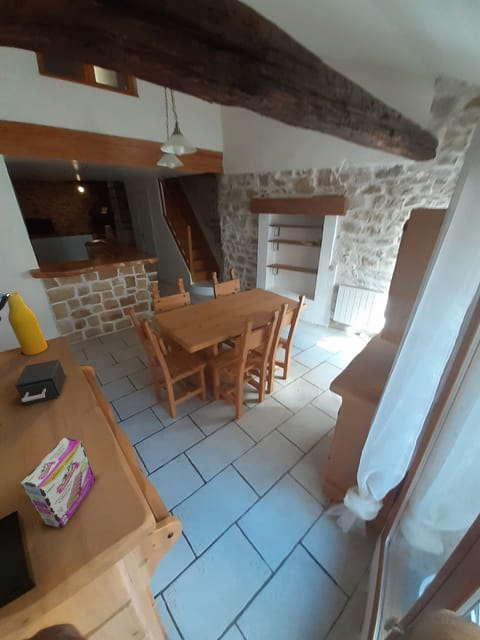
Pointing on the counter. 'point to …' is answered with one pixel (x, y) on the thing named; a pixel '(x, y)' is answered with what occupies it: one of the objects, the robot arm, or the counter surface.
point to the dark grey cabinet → (43, 374)
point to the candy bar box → (59, 482)
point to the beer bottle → (25, 326)
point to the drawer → (37, 392)
